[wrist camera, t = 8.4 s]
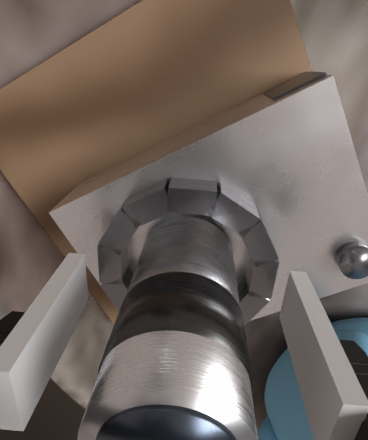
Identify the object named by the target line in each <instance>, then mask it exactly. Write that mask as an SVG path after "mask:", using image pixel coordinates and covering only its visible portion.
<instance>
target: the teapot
mask: <svg viewBox="0 0 368 440" xmlns="http://www.w3.org/2000/svg"><path fill="white" fill-rule="evenodd" d="M331 325H332V327H333V329H334V331H335V333H336V335H337V337H338V339H339V340H351V341H355V342H356V343H357V344H358V345H359V346H360V347H361V348H362V349H363V350H364V351H365V352H366V354H367V356H368V317H358V318H348V319H342V320H337V321H334V322H331ZM264 397H265V406H266V411H267V417H266V418H265V420H264V421H263V423H262V424H261V426H260V427H259V429H258V431H257V435H258V440H314V437H313V434H312V430H311V427H310V423H309V420H308V416H307V413H306V409H305V406H304V402H303V399H302V395H301V392H300V388H299V385H298V381H297V378H296V374H295V371H294V367H293V364H292V360H291V357H290V353H289V350H288V348H287V349H286V350H285V351H284V352H283V354H282V355H281V356H280V357H279V359H278V360H277V362H276V363H275V364H274V366H273V367H272V369H271V371H270V373H269V376H268V379H267V382H266V387H265V395H264Z"/></svg>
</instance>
